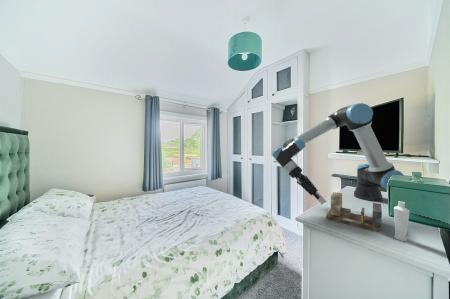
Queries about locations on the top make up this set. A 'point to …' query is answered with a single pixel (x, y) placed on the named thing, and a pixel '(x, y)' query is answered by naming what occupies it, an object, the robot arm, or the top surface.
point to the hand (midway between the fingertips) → (324, 202)
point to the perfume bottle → (401, 221)
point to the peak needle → (362, 214)
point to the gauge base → (355, 219)
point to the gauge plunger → (337, 204)
